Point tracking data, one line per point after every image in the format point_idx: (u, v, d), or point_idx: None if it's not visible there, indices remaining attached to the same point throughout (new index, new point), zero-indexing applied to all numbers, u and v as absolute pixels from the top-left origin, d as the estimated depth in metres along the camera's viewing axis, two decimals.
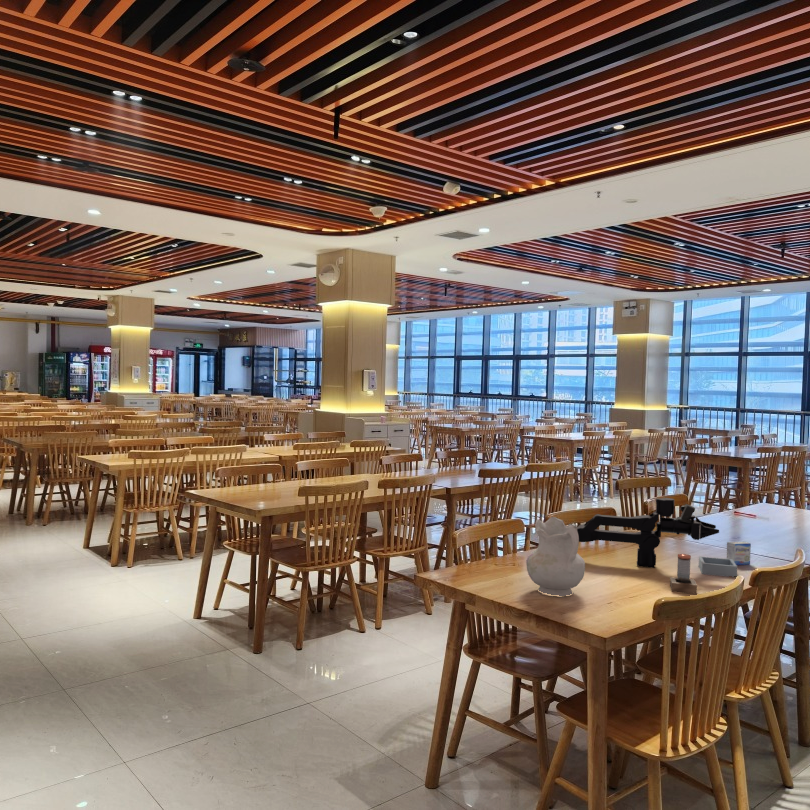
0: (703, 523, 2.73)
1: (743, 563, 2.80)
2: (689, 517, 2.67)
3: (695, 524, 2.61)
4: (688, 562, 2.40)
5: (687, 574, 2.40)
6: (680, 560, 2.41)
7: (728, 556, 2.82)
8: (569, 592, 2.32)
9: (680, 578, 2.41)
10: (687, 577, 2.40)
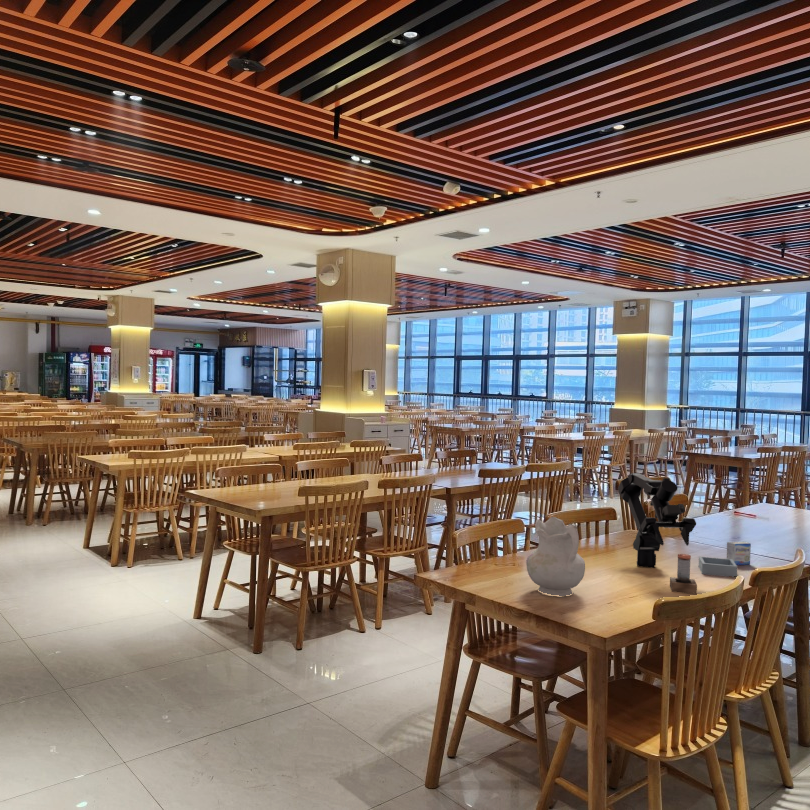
0: (685, 533, 2.53)
1: (743, 563, 2.80)
2: (664, 514, 2.54)
3: (646, 519, 2.53)
4: (688, 562, 2.40)
5: (687, 574, 2.40)
6: (680, 560, 2.41)
7: (728, 556, 2.82)
8: (569, 592, 2.32)
9: (680, 578, 2.41)
10: (687, 577, 2.40)
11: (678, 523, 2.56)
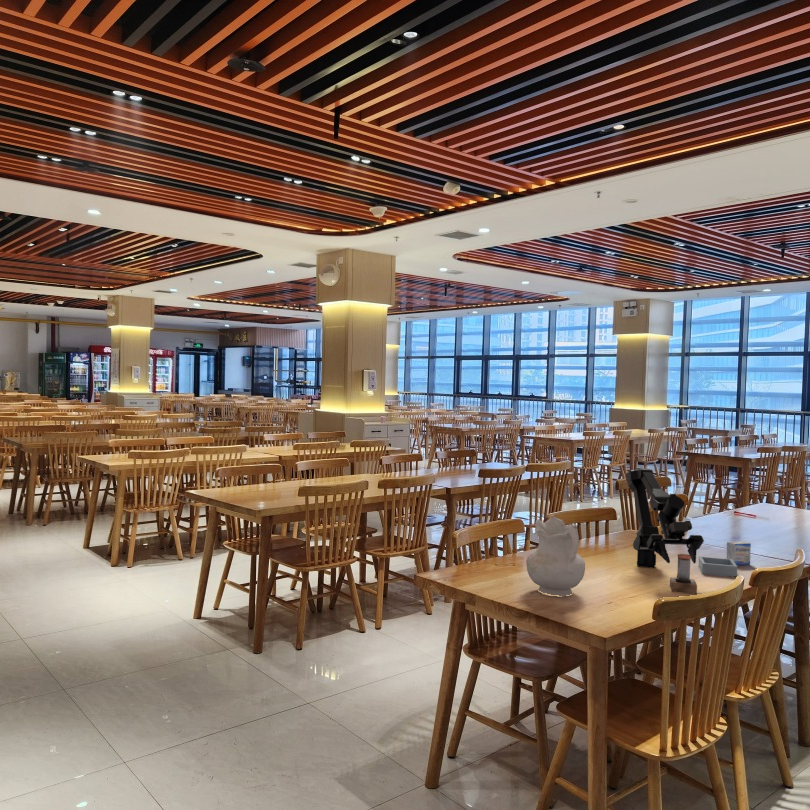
0: (692, 550, 2.46)
1: (743, 563, 2.80)
2: (670, 531, 2.48)
3: (652, 536, 2.47)
4: (688, 562, 2.40)
5: (687, 574, 2.40)
6: (680, 560, 2.41)
7: (728, 556, 2.82)
8: (569, 592, 2.32)
9: (680, 578, 2.41)
10: (687, 577, 2.40)
11: (685, 540, 2.49)
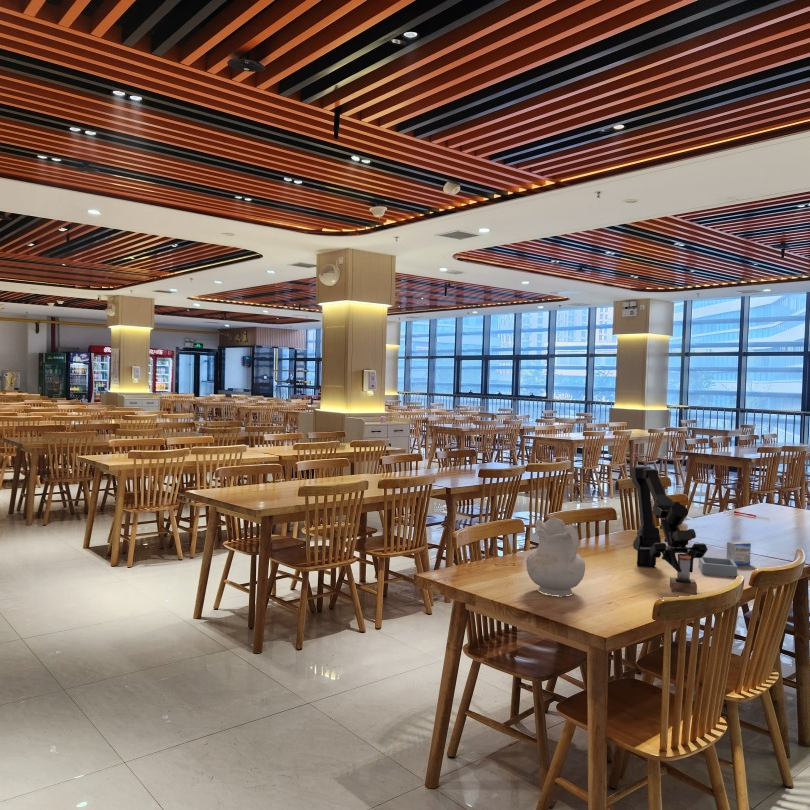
0: None
1: (743, 563, 2.80)
2: (674, 539, 2.45)
3: (655, 545, 2.44)
4: (688, 562, 2.40)
5: (687, 574, 2.40)
6: (680, 560, 2.41)
7: (728, 556, 2.82)
8: (569, 592, 2.32)
9: (680, 578, 2.41)
10: (687, 577, 2.40)
11: (688, 548, 2.47)
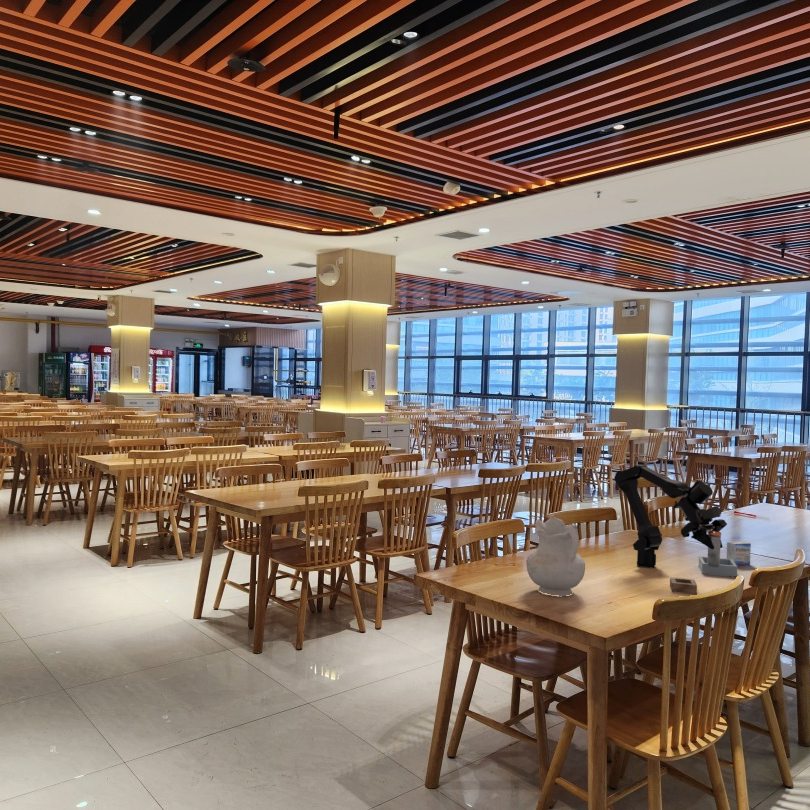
0: None
1: (743, 563, 2.80)
2: (703, 517, 2.49)
3: (690, 524, 2.46)
4: (720, 538, 2.47)
5: (719, 550, 2.47)
6: (713, 537, 2.46)
7: (728, 556, 2.82)
8: (569, 592, 2.32)
9: (713, 554, 2.47)
10: (719, 553, 2.47)
11: None
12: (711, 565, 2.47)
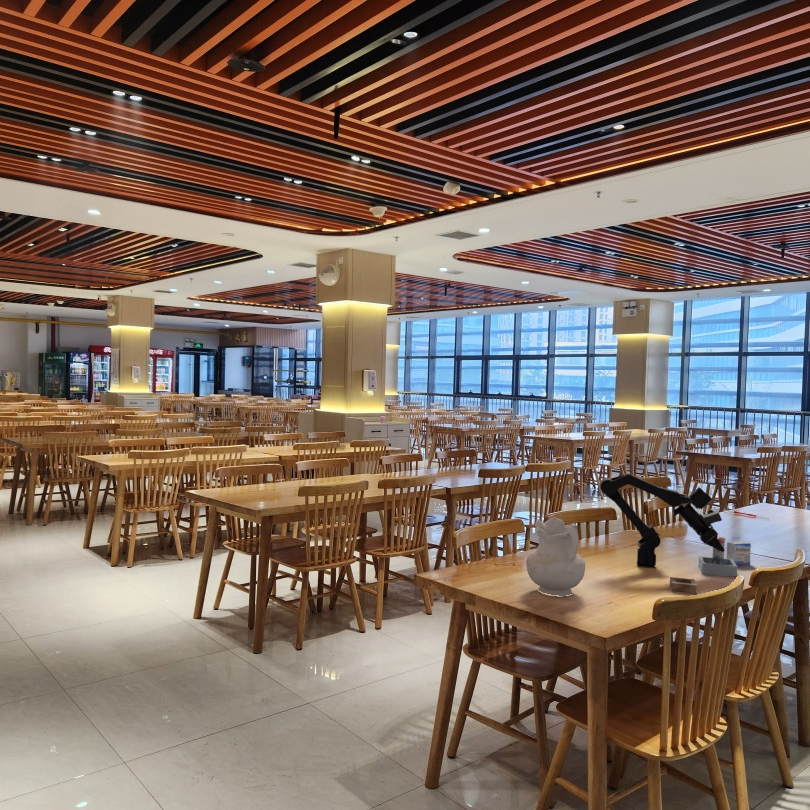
0: None
1: (743, 563, 2.80)
2: (711, 522, 2.66)
3: (713, 530, 2.60)
4: None
5: None
6: (722, 543, 2.66)
7: (728, 556, 2.82)
8: (569, 592, 2.32)
9: (721, 559, 2.66)
10: None
11: None
12: None
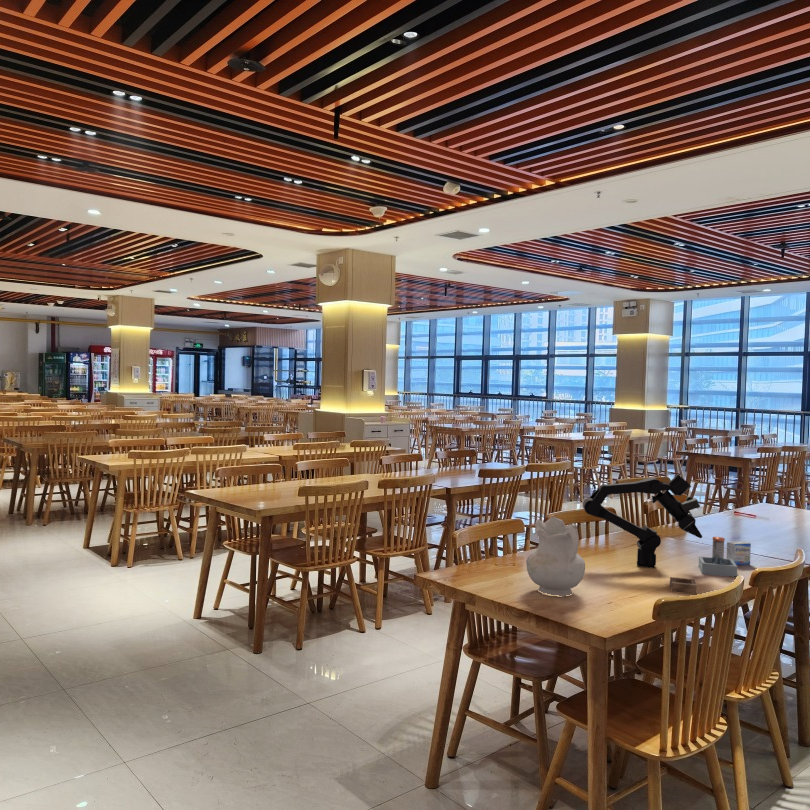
0: None
1: (743, 563, 2.80)
2: (689, 509, 2.68)
3: (691, 517, 2.62)
4: None
5: None
6: (721, 543, 2.66)
7: (728, 556, 2.82)
8: (569, 592, 2.32)
9: (721, 559, 2.66)
10: None
11: None
12: None
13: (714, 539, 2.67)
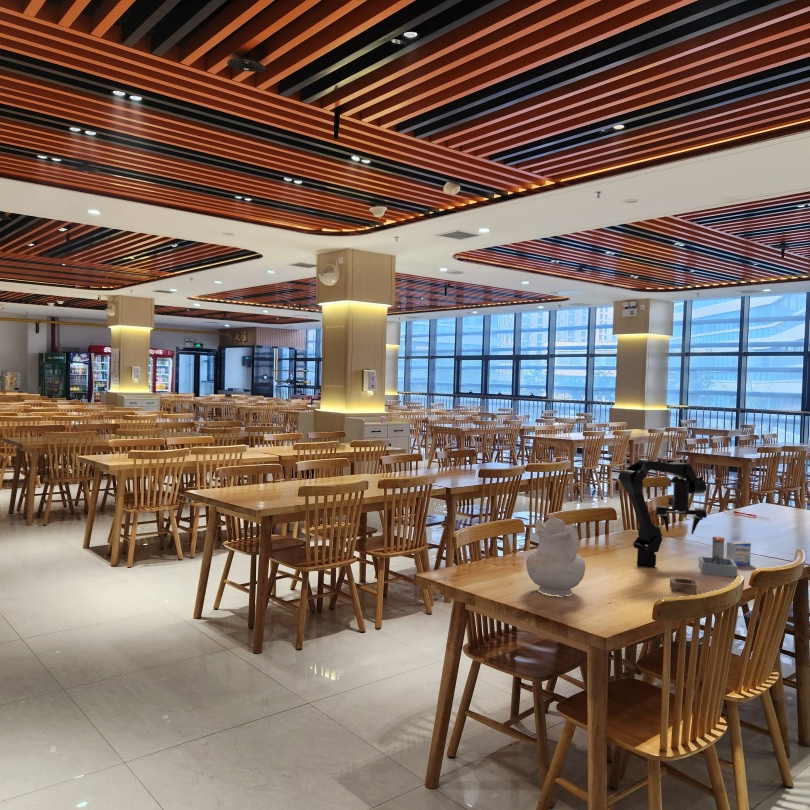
0: None
1: (743, 563, 2.80)
2: None
3: None
4: None
5: None
6: (721, 543, 2.66)
7: (728, 556, 2.82)
8: (569, 592, 2.32)
9: (721, 559, 2.66)
10: None
11: None
12: None
13: (714, 539, 2.67)
